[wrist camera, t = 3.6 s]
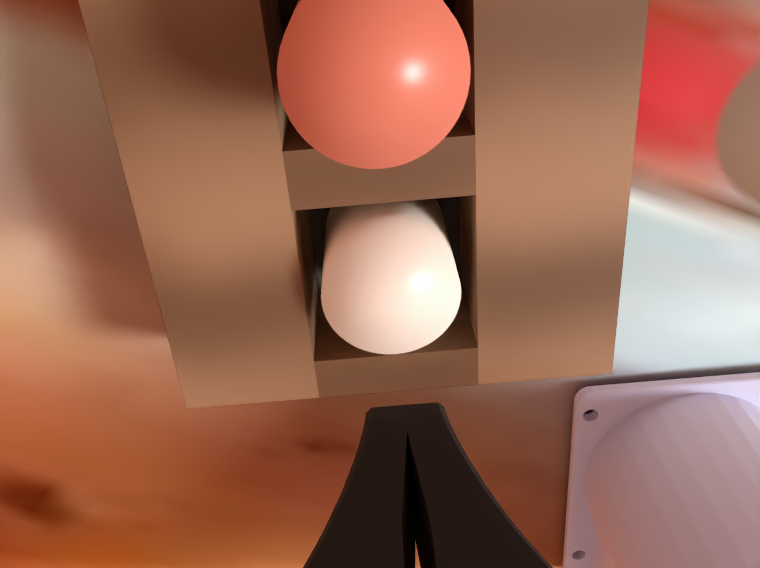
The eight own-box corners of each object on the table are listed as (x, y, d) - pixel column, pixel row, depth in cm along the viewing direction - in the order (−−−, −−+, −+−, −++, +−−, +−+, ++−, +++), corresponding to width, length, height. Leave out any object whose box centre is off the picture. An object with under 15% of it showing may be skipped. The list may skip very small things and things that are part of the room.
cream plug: (445, 276, 22) (462, 348, 19) (332, 285, 22) (329, 359, 19) (441, 169, 21) (459, 227, 17) (319, 179, 21) (312, 239, 17)
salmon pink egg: (448, 104, 17) (472, 161, 14) (302, 117, 17) (290, 176, 14) (443, -56, 16) (468, -36, 12) (281, -42, 16) (263, -18, 12)
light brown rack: (578, 308, 23) (611, 373, 20) (208, 339, 24) (186, 408, 20) (634, -526, 14) (713, -637, 11) (19, -468, 14) (-72, -562, 11)
